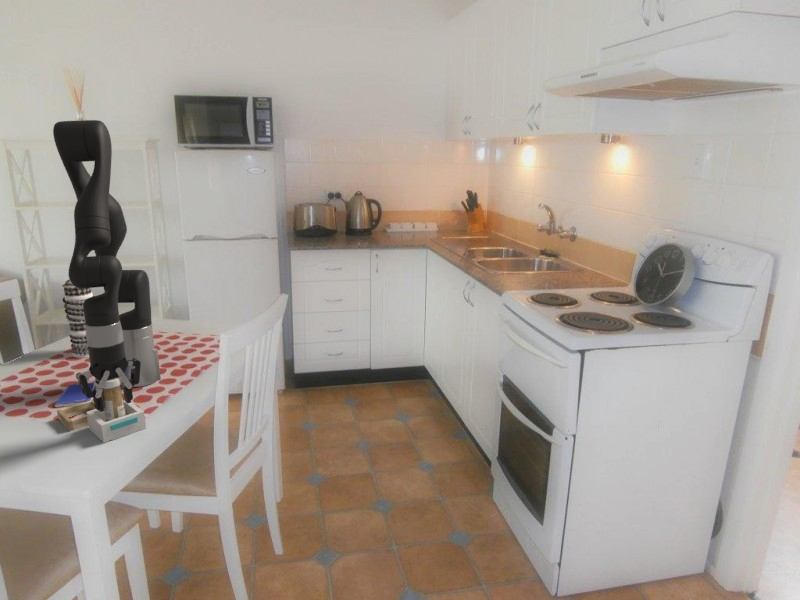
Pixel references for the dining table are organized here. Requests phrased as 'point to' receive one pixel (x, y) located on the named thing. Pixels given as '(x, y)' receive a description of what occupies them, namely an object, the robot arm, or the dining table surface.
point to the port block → (116, 423)
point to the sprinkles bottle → (113, 399)
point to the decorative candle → (76, 317)
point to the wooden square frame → (75, 410)
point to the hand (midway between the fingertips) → (114, 406)
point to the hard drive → (73, 396)
